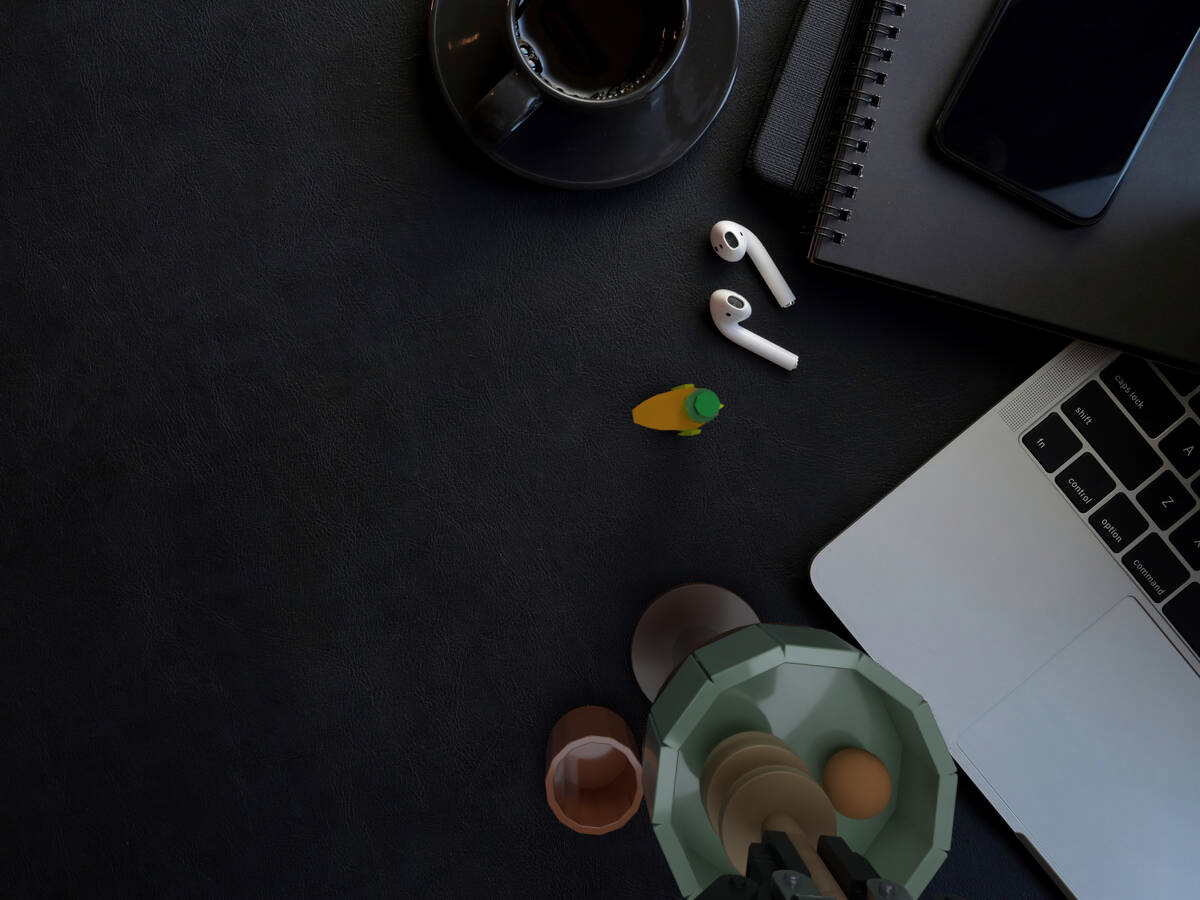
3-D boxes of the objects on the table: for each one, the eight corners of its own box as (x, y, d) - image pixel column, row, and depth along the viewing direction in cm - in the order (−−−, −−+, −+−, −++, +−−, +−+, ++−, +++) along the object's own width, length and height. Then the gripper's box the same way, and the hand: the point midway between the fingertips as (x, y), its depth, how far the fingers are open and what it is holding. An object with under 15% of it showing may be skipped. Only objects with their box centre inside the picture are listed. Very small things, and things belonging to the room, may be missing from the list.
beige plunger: (799, 843, 40) (903, 1008, 28) (693, 833, 40) (752, 995, 28) (810, 735, 40) (920, 854, 28) (705, 725, 40) (768, 840, 28)
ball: (874, 807, 43) (898, 833, 40) (810, 801, 43) (829, 827, 40) (881, 742, 43) (905, 764, 40) (817, 736, 43) (837, 757, 40)
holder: (630, 797, 68) (639, 838, 61) (541, 788, 68) (539, 829, 61) (639, 709, 68) (650, 741, 61) (551, 701, 68) (550, 731, 61)
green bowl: (895, 906, 44) (938, 964, 39) (629, 882, 43) (639, 938, 38) (923, 639, 44) (970, 663, 39) (659, 612, 43) (672, 632, 38)
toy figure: (627, 444, 68) (642, 442, 56) (620, 396, 68) (633, 383, 56) (717, 431, 69) (751, 426, 57) (710, 383, 69) (743, 368, 57)
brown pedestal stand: (772, 743, 69) (895, 906, 44) (603, 727, 68) (629, 882, 43) (790, 573, 69) (923, 639, 44) (621, 555, 68) (659, 612, 43)
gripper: (629, 1531, 15) (590, 951, 32) (1453, 1581, 15) (977, 985, 33) (681, 1054, 15) (614, 733, 32) (1497, 1121, 15) (1000, 771, 33)
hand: (798, 861), depth 32 cm, fingers closed on beige plunger, 1 cm apart
